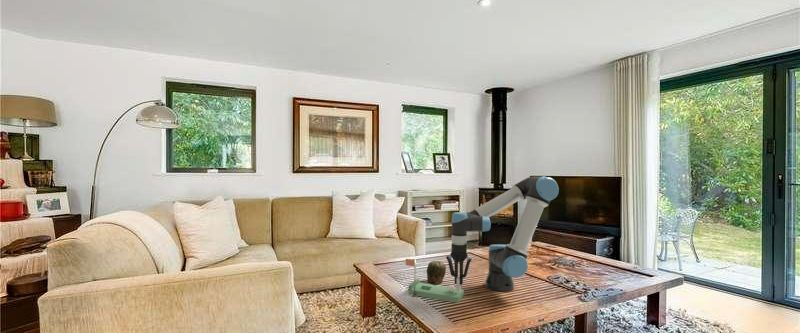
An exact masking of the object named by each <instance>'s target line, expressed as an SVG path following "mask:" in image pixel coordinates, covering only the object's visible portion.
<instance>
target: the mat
mask: <svg viewBox="0 0 800 333" xmlns="http://www.w3.org/2000/svg"><path fill="white" fill-rule="evenodd" d="M456 290H457V287H455V291H454V292H449V291H448V286H443V285H438V284H431V283H424V282H423V283H422V282H420V278H416V284H415V294H416V295H417V297H422V298H428V299H434V300H440V301H445V302H452V303H459V302H460V301H461V300H462V298H463V297H464V295H465V289H462V288H461V290H460V292H458V291H456ZM413 294H414V281H413V282H411V283H410V284H408V295H411V296H412V295H413Z"/></svg>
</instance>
